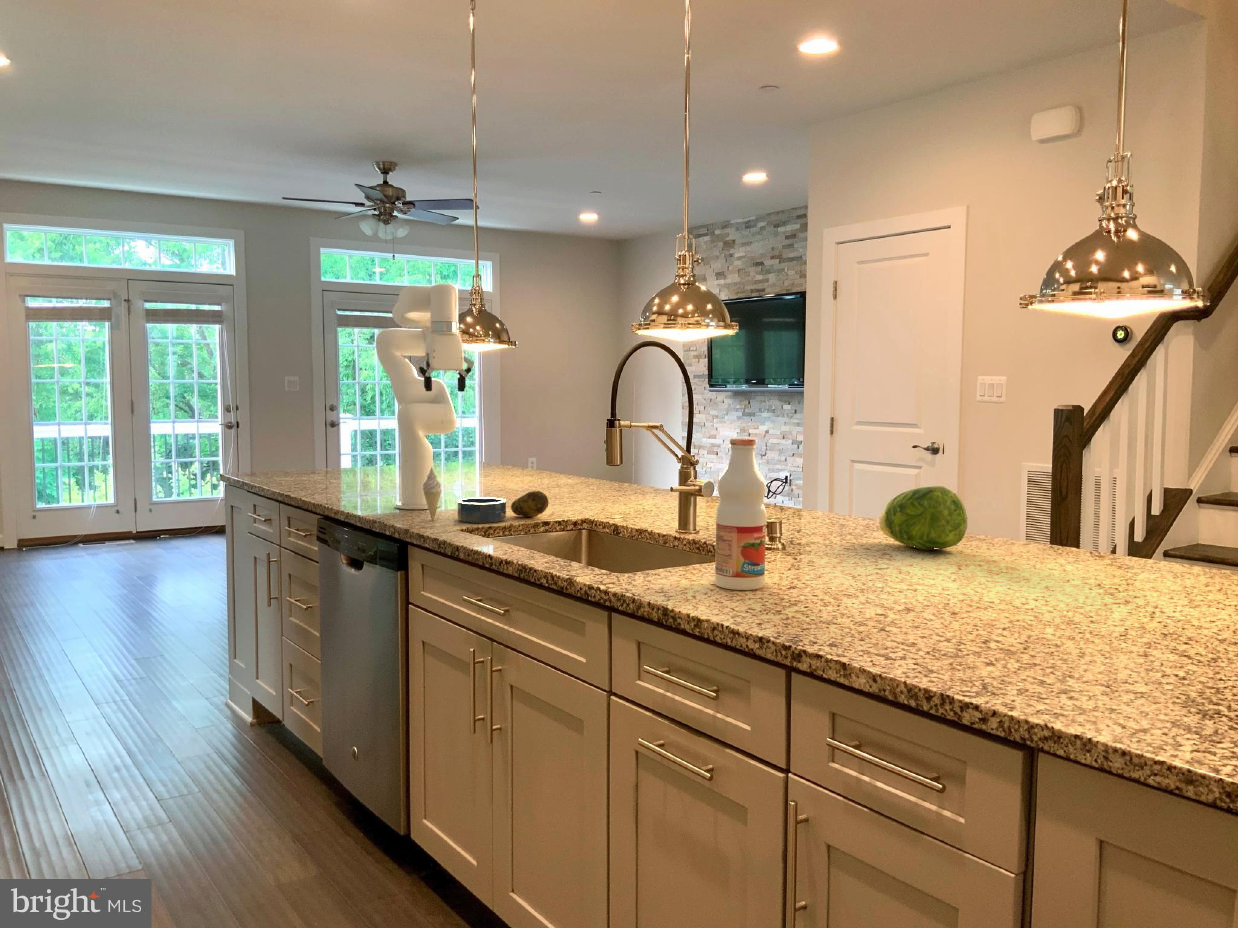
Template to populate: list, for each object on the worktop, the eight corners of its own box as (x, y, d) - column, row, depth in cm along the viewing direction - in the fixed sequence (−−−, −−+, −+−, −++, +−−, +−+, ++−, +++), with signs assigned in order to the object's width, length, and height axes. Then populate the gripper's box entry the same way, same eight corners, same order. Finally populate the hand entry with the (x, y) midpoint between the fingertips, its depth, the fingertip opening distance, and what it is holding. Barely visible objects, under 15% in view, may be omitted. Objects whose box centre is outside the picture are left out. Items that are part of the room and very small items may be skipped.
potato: (535, 514, 271) (535, 486, 270) (552, 520, 259) (552, 491, 258) (508, 515, 267) (508, 488, 266) (524, 521, 255) (524, 493, 255)
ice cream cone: (421, 519, 257) (421, 465, 256) (440, 518, 259) (439, 465, 258) (424, 522, 253) (424, 467, 251) (443, 521, 254) (443, 467, 253)
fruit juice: (725, 578, 183) (728, 437, 181) (771, 583, 179) (775, 438, 176) (706, 587, 175) (709, 439, 172) (754, 593, 170) (757, 441, 168)
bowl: (450, 518, 259) (450, 499, 259) (493, 515, 266) (493, 496, 266) (469, 525, 248) (469, 504, 248) (513, 521, 255) (513, 501, 255)
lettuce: (914, 550, 233) (894, 492, 234) (988, 534, 217) (966, 472, 218) (876, 566, 223) (856, 506, 224) (950, 551, 207) (928, 486, 208)
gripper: (467, 331, 265) (468, 391, 266) (409, 329, 255) (410, 391, 256) (478, 330, 258) (479, 391, 260) (419, 327, 249) (420, 391, 250)
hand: (445, 391), depth 258 cm, fingers open, 9 cm apart
